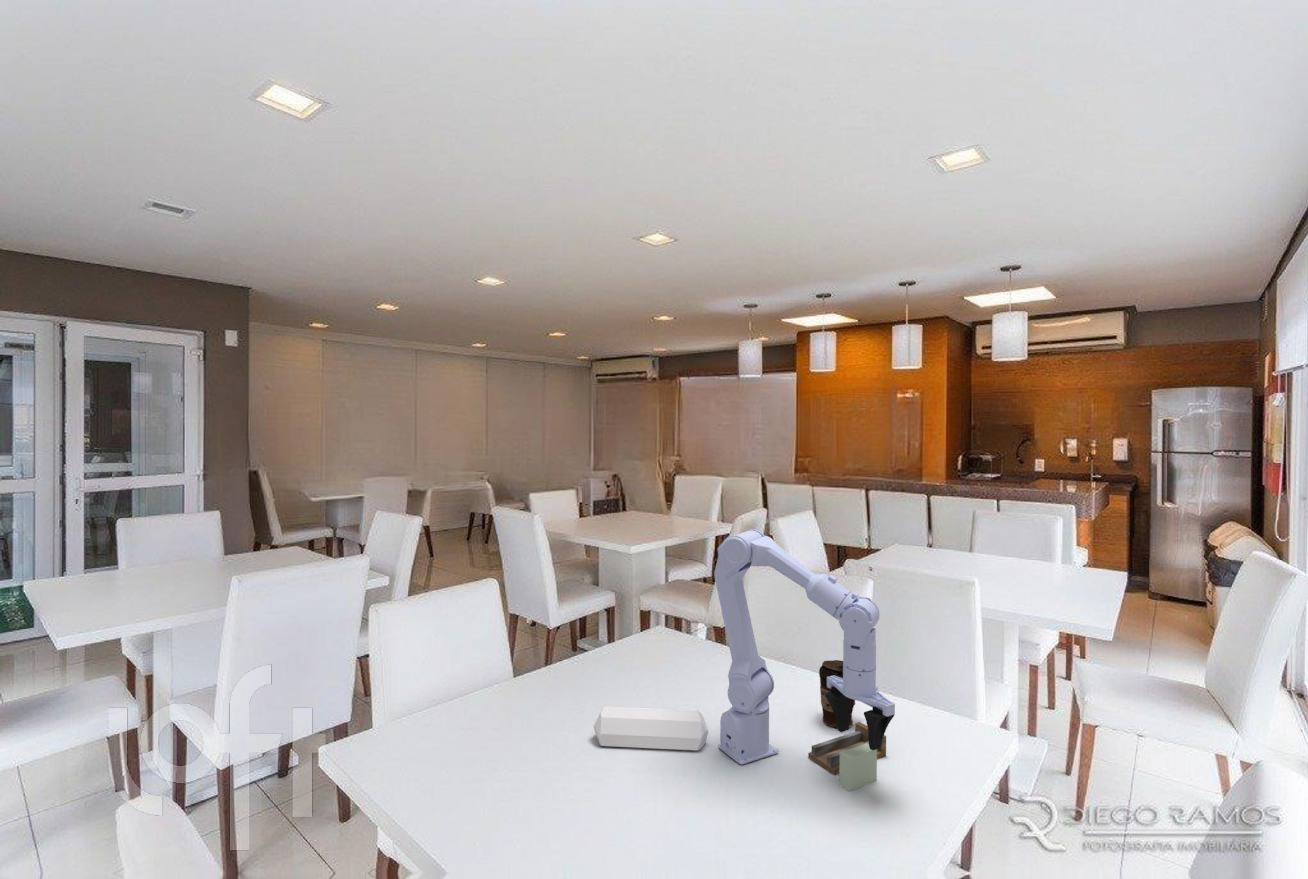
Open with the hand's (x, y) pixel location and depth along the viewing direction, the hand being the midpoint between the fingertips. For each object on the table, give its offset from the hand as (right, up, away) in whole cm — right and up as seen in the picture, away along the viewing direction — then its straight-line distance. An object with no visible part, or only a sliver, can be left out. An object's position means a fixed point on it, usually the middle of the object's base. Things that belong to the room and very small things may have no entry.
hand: (858, 739), depth 119 cm
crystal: (-38, -8, +15) cm, 42 cm away
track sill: (+1, -8, +9) cm, 12 cm away
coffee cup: (+3, -8, +24) cm, 25 cm away
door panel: (0, -8, 0) cm, 8 cm away
